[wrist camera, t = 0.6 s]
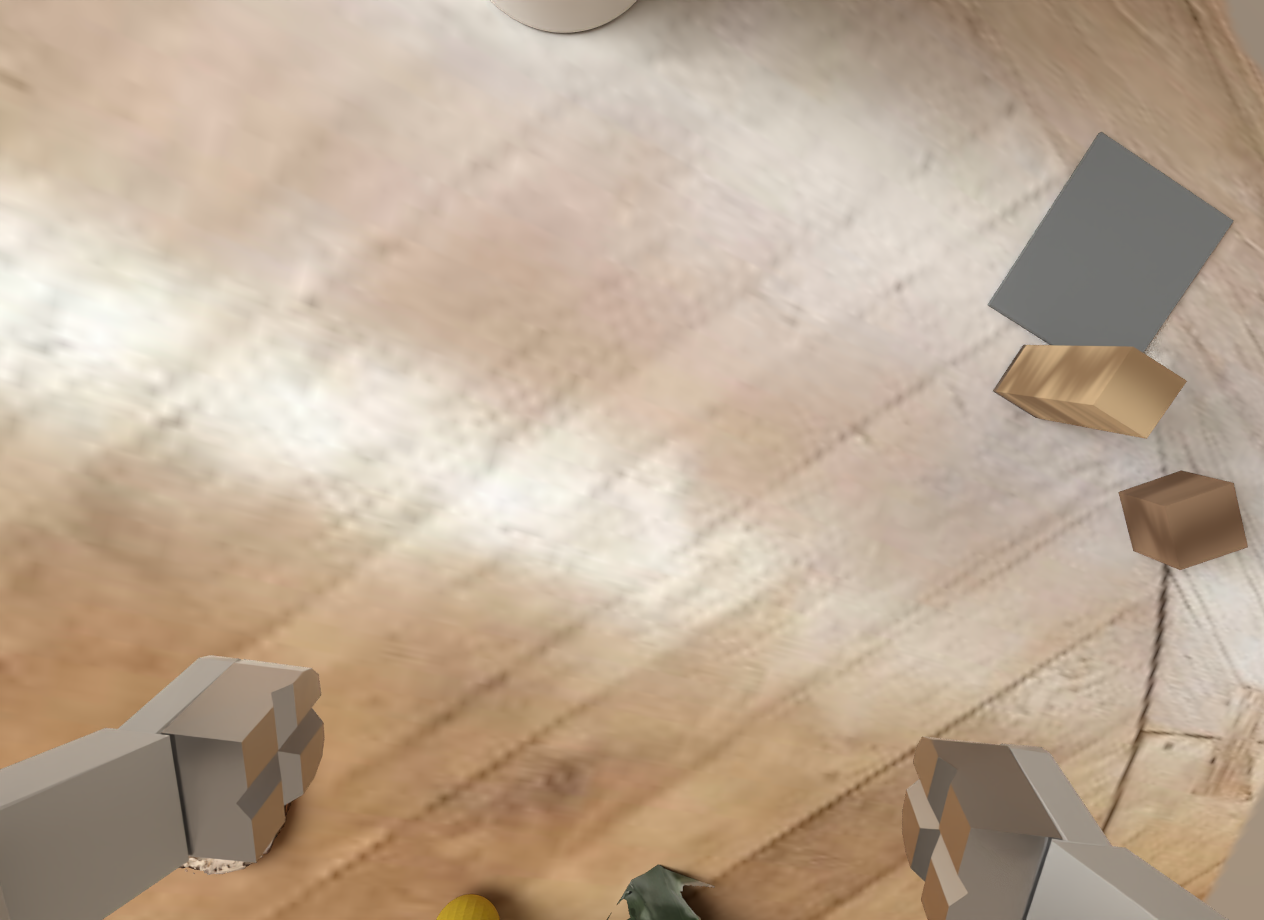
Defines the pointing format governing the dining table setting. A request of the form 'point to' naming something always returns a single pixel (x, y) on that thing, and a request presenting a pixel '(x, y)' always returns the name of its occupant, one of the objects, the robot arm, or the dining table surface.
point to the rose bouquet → (659, 896)
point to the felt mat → (1110, 254)
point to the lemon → (469, 909)
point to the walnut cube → (1183, 519)
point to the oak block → (1091, 387)
